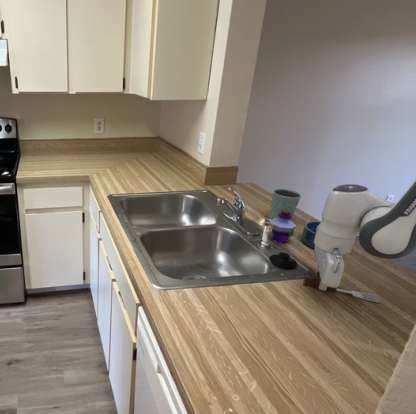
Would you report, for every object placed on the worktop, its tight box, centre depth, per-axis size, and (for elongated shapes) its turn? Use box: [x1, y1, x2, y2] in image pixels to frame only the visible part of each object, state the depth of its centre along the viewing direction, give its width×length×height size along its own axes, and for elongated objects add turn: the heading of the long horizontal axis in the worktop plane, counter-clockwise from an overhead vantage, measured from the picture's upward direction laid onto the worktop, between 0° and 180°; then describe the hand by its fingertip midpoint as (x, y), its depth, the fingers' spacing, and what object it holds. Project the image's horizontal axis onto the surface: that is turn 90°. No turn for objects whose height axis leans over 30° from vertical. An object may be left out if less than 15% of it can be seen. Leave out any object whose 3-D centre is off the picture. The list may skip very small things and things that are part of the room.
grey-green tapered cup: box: [268, 188, 302, 222], centre depth 138 cm, size 10×10×12 cm
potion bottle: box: [270, 209, 297, 244], centre depth 122 cm, size 9×9×12 cm
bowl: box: [300, 220, 321, 249], centre depth 120 cm, size 13×13×6 cm
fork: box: [302, 273, 380, 304], centre depth 95 cm, size 18×3×3 cm, turn 64°
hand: (320, 282), depth 97 cm, fingers open, 5 cm apart
